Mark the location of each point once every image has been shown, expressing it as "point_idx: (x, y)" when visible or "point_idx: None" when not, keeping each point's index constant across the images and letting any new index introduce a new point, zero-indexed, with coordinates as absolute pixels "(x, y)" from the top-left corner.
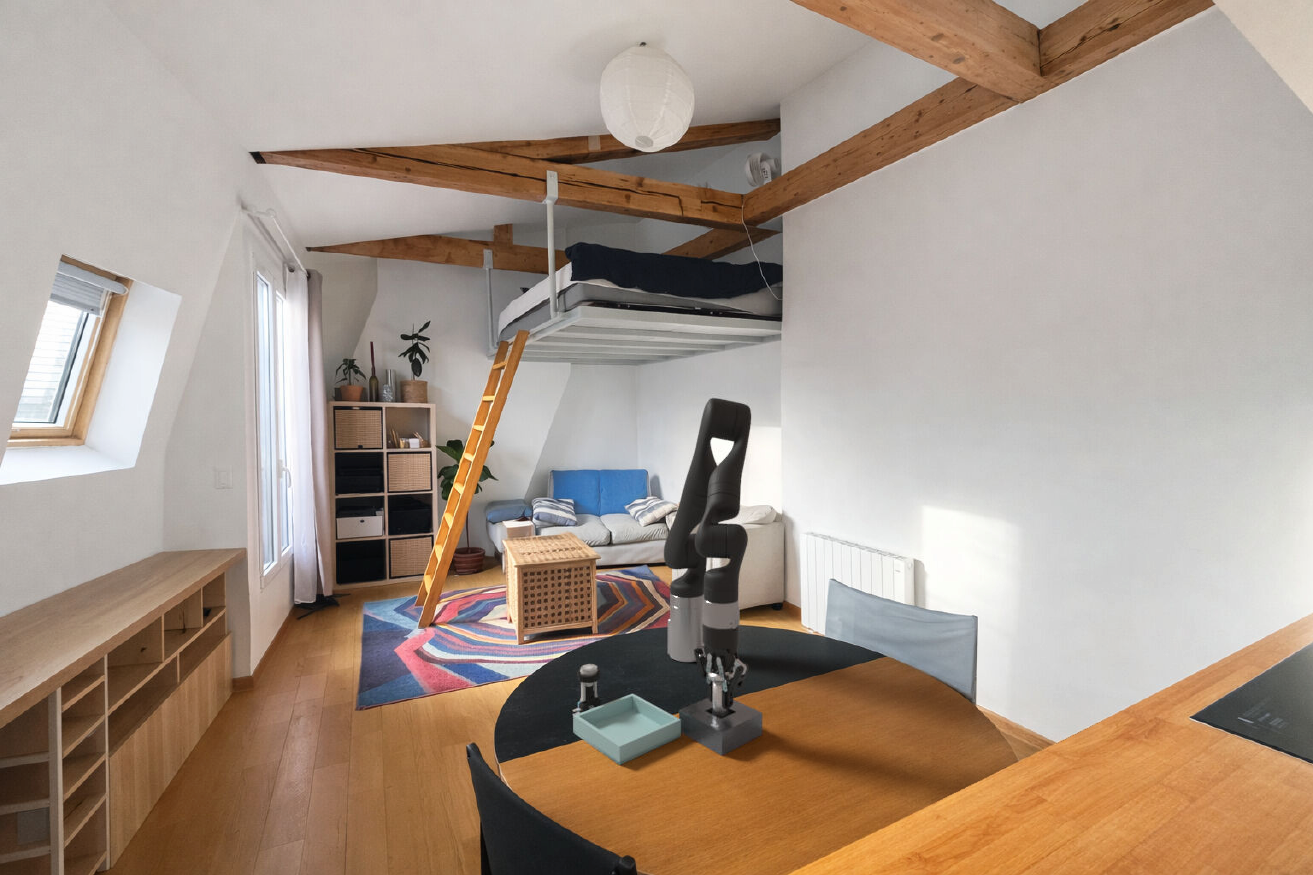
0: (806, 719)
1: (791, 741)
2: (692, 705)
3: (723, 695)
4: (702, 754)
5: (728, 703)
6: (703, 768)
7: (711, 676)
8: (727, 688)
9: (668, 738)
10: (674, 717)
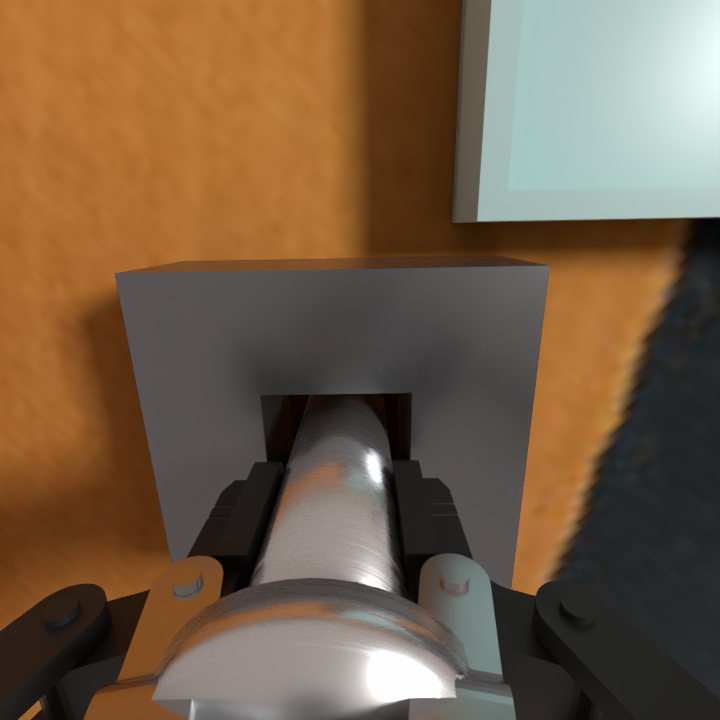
0: None
1: (115, 564)
2: (521, 382)
3: (243, 523)
4: (247, 189)
5: (218, 498)
6: (137, 90)
7: (315, 630)
8: (150, 594)
9: (462, 115)
10: (531, 207)
